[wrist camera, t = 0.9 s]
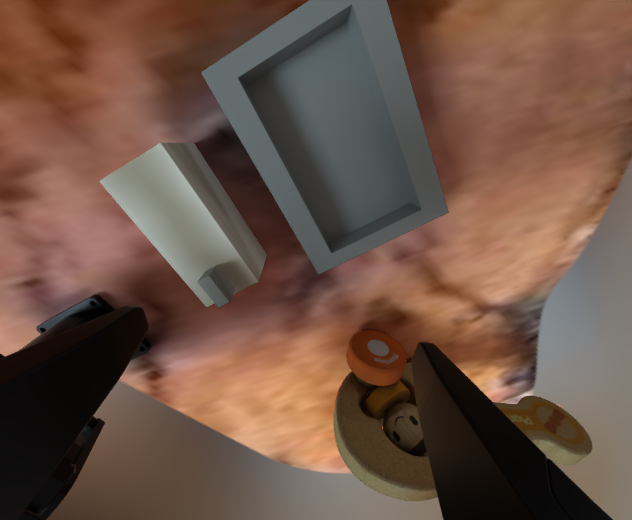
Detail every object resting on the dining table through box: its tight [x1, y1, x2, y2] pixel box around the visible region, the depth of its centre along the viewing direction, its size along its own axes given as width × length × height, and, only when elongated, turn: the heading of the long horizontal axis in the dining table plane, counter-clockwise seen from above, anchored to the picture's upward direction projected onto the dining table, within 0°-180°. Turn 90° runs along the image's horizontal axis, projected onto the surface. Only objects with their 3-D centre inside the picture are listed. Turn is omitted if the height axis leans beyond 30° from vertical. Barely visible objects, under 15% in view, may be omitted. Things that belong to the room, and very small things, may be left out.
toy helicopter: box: [334, 330, 592, 520], centre depth 20 cm, size 8×21×14 cm, turn 82°
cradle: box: [201, 0, 449, 274], centre depth 16 cm, size 9×13×3 cm
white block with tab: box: [99, 143, 267, 308], centre depth 16 cm, size 4×9×6 cm, turn 27°
